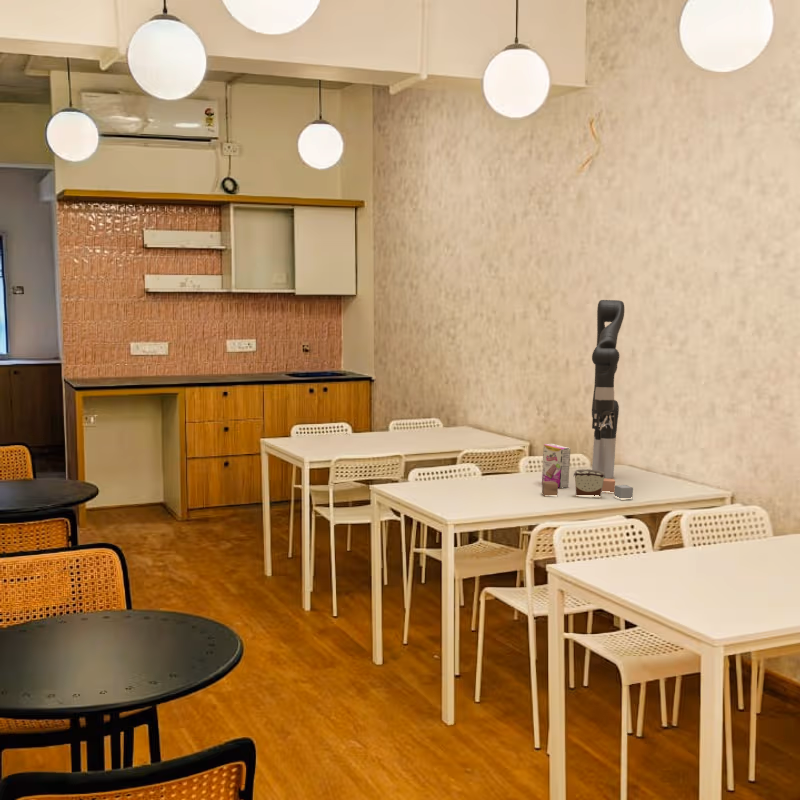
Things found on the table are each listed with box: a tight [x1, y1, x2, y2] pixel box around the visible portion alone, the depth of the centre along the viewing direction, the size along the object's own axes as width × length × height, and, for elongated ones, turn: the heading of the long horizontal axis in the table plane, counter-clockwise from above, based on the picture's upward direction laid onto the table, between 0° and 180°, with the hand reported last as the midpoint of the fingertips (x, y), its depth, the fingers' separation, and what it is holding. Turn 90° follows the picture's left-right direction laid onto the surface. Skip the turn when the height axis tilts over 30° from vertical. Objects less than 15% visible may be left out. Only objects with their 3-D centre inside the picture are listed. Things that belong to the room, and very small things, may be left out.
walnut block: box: [541, 481, 559, 496], centre depth 392 cm, size 5×5×5 cm
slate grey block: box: [613, 484, 634, 498], centre depth 389 cm, size 5×5×5 cm
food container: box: [572, 468, 605, 497], centre depth 392 cm, size 12×6×10 cm, turn 84°
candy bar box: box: [541, 443, 571, 489], centre depth 409 cm, size 11×5×16 cm, turn 34°
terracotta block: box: [602, 478, 616, 493], centre depth 401 cm, size 5×5×5 cm
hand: (603, 438), depth 403 cm, fingers open, 8 cm apart
